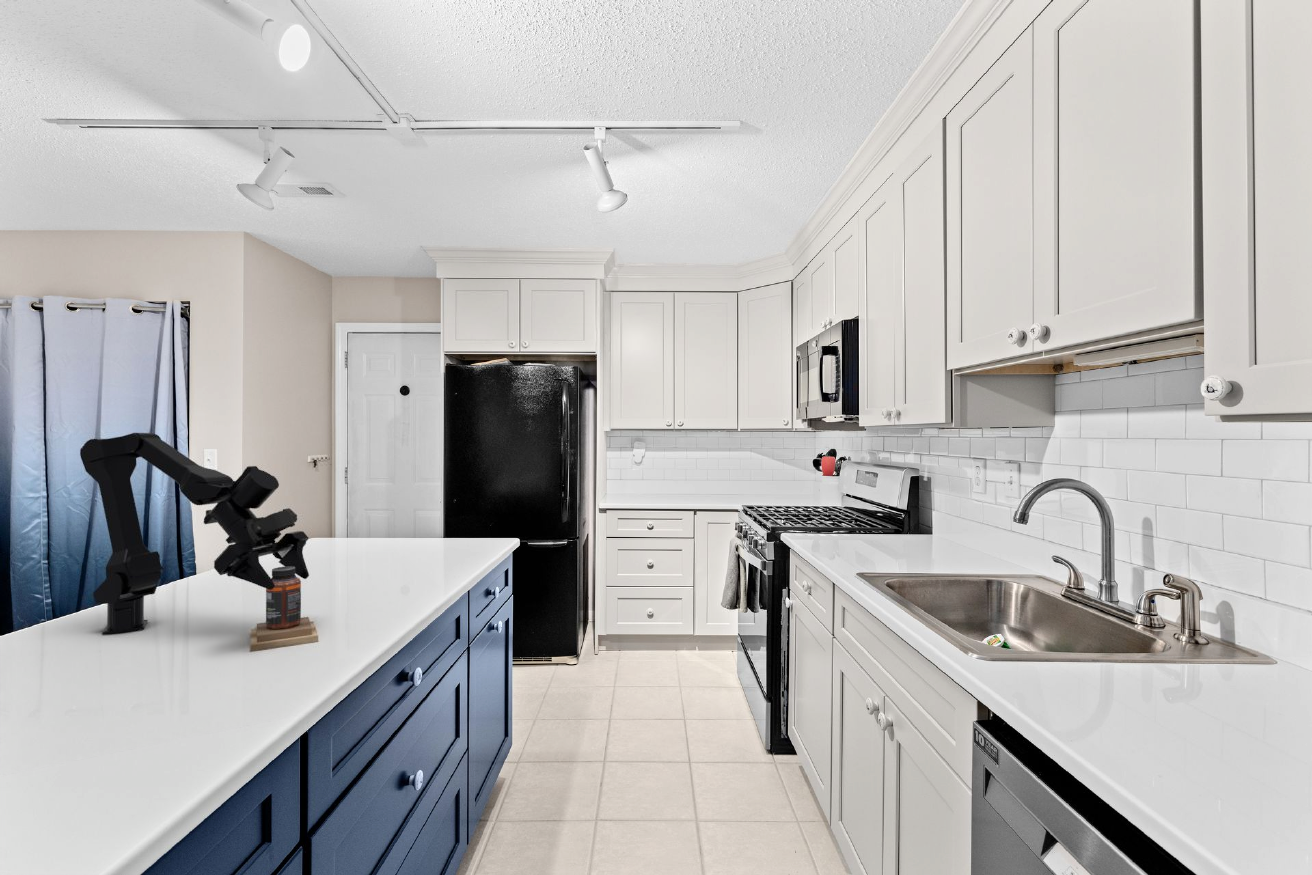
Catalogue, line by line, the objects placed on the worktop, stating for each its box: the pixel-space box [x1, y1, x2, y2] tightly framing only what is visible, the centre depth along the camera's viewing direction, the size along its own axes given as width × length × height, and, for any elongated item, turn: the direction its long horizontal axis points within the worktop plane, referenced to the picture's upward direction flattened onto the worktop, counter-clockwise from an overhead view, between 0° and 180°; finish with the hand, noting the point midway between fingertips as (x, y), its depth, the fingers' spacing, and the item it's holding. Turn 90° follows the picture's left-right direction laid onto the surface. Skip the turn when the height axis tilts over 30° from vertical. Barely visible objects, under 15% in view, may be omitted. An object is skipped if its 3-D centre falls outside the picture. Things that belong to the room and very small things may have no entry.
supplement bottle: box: [265, 566, 302, 629], centre depth 123 cm, size 6×6×11 cm
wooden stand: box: [250, 616, 319, 653], centre depth 123 cm, size 11×11×2 cm
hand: (290, 582), depth 123 cm, fingers open, 9 cm apart
